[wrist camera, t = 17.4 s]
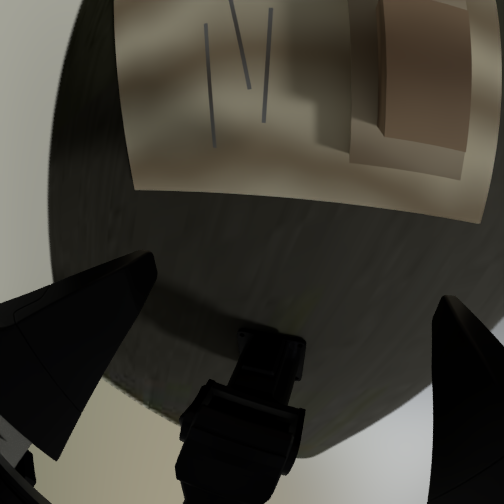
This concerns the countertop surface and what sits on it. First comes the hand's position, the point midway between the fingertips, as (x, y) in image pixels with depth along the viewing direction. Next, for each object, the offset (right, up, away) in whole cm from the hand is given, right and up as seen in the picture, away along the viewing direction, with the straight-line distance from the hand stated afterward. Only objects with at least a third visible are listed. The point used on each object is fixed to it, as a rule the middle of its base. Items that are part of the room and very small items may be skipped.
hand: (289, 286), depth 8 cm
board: (+2, +12, +6) cm, 13 cm away
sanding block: (+7, +10, +3) cm, 13 cm away
